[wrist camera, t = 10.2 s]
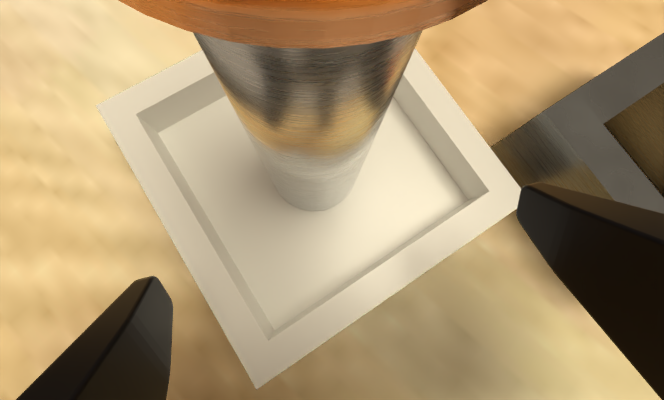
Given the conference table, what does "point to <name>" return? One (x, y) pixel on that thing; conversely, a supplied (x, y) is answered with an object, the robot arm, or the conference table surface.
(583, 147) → the block
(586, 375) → the conference table surface
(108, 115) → the tray
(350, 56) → the hitch pin
